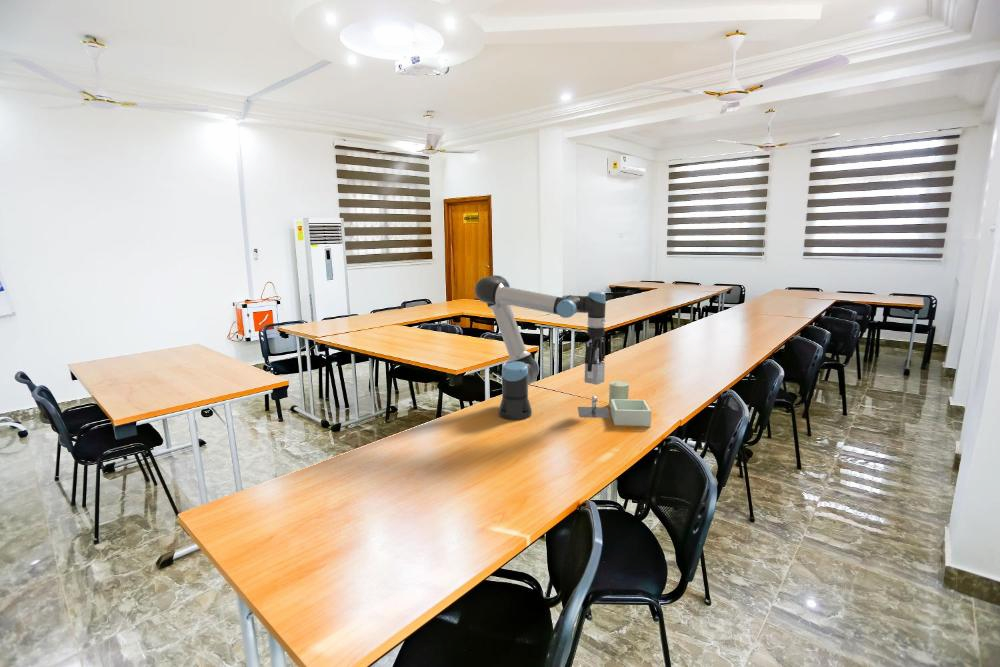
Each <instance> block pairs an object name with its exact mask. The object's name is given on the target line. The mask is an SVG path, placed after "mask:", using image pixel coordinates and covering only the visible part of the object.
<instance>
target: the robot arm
mask: <svg viewBox="0 0 1000 667" xmlns="http://www.w3.org/2000/svg"><path fill="white" fill-rule="evenodd" d="M474 294H475V297H476V298H477V299H478V300H479V301H480V302H482V303H485V304H486V305H487V307H488V309H490V310H492V312H493V314H494V318H495V321H496V323H497V325H498V329H499V331H500V334H501V337H502V339H503V343H504V345H505V348H506V351H507V353H508V356H509V357H508V360H507V363H505V364H504V365H503V366H502V369H501V376H502V377H501V382H502V383H501V388H502V390H501V391H502V393H501V394H502V398H501V401H500V405H499V408H498V415H499V417H501V418H503V419H506V420H514V421H515V420H523V419H527V418H530V417H531V416H532V413H533V411H532V407H531V403H530V400H529V392H528V391H529V385H530V384H532V383H533V382H534V381H536V379H537V377H538V375H539V371H540V366H539V363H538V362H537V361H536V359H534V358H533V355H532V353H531V352H529V351H527V349H526V346H525V343H524V340H523V337H522V335H521V332H520V329H519V327H518V323H517V321H516V319H515V316H514V313H513V312H514V311H513V310H512V307H511V306H513V307H519V308H524V309H529V310H534V311H539V312H544V313H549V314H553V315H559V317H560V318H564V319H567V318H571V317H573V316H574V315H575V314H578V313H579V314H581V313H582V314H587V329H586V330H587V333H586V334H587V336H589V340H588V341H585V351H584V353H585V355H584V365H585V364H588V373H587V378H590V379H593V378H594V364H593V360H594V355H595V350H597V347H599V362H605V359H606V348H605V347H606V338H605V337H604V336H605V333H606V332H605V331H606V330H605V326H606V324H605V323H606V304H607V302H606V293H605V292H603V291H598V290H597V291H589V292H588V294H587V295H571V294H567V295H566V294H565V295H562V297H561V296H556V295H551V294H550V295H549V294H547V293H541V292H535V291H530V290H526V289H520V288H516V287H515V288H514V287H511V286H510V283H509V281H508V280H507V279H506V278H505V276H504V277H503V275H502V276H501V275H491V276H486V277H483V278H480V279H479V280H478V281H477V282H476V283H475V286H474ZM592 347H594V348H592Z"/></svg>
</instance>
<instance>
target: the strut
mask: <svg viewBox="0 0 1000 667" xmlns="http://www.w3.org/2000/svg"><path fill="white" fill-rule="evenodd" d="M592 348H594V347H592ZM593 364H594V378H593V379H590V378H587V373H588V364H585V363H584V383H587V384H591V385H597V386H598V385H600V384H603V383H605V368H606V363H605V361H602V362H599V347H597V350H595V355H594V360H593Z"/></svg>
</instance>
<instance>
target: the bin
mask: <svg viewBox="0 0 1000 667" xmlns="http://www.w3.org/2000/svg"><path fill="white" fill-rule="evenodd" d="M610 416H611V419H612V421H613V424H614V425H615V426H633V427H634V426H635V427H645V428H648V427H649V428H651V426H652V425H651V424H652V409H651V408H650V407H649V405H648V403H647V401H646V400H645V399H629V398H628V399H611V407H610Z"/></svg>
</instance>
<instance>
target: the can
mask: <svg viewBox="0 0 1000 667" xmlns="http://www.w3.org/2000/svg"><path fill="white" fill-rule="evenodd" d="M608 390H609V393H608V394H609V395H608V408H609V407H610V408H611V399H629V396H630V395H629V392H630V383H629V382H627V381H623V380H613V381H609V389H608Z"/></svg>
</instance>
